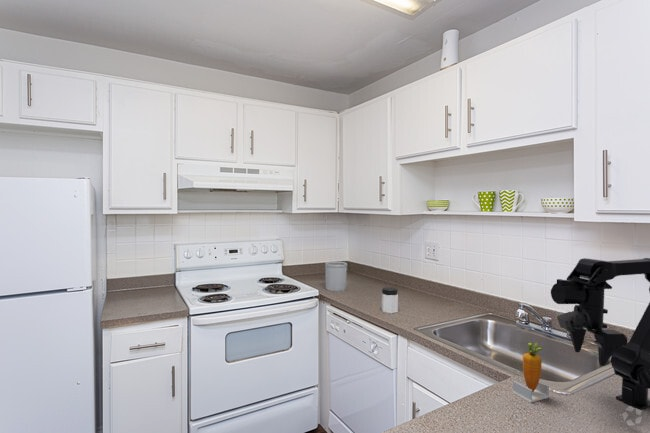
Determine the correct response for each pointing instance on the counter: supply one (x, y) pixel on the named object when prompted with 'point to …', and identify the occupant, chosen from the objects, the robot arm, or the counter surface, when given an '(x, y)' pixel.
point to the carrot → (532, 367)
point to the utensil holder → (336, 276)
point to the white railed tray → (527, 393)
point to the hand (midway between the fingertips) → (589, 358)
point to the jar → (389, 300)
